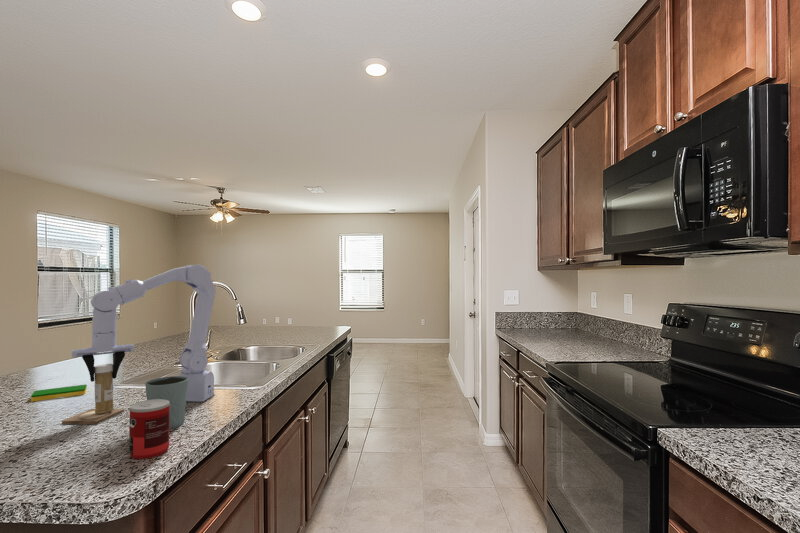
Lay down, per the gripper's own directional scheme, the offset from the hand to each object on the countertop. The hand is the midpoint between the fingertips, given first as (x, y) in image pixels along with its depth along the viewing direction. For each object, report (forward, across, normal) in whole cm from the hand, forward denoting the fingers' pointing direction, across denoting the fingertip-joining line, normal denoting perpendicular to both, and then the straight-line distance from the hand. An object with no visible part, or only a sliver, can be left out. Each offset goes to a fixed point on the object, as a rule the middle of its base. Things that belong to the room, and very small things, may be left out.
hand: (103, 379), depth 117 cm
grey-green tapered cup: (+11, -12, +20) cm, 26 cm away
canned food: (+11, -5, +37) cm, 39 cm away
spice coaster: (+10, +2, 0) cm, 11 cm away
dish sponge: (+11, +8, -34) cm, 37 cm away
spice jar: (+10, 0, 0) cm, 10 cm away
